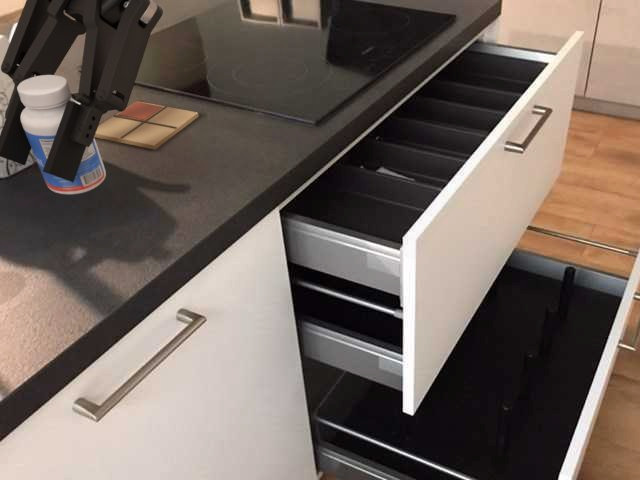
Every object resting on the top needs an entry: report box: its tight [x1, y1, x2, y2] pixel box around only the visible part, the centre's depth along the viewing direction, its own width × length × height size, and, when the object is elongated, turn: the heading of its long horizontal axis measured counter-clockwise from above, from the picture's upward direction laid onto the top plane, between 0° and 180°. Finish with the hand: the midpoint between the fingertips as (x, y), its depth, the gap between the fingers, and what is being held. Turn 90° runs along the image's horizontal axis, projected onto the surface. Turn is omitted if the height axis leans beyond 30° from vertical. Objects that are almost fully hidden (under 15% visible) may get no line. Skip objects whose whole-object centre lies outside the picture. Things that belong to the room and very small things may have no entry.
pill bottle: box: [17, 74, 107, 195], centre depth 60 cm, size 6×5×10 cm
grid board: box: [94, 100, 200, 150], centre depth 88 cm, size 10×10×1 cm
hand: (33, 167), depth 58 cm, fingers closed on pill bottle, 5 cm apart
